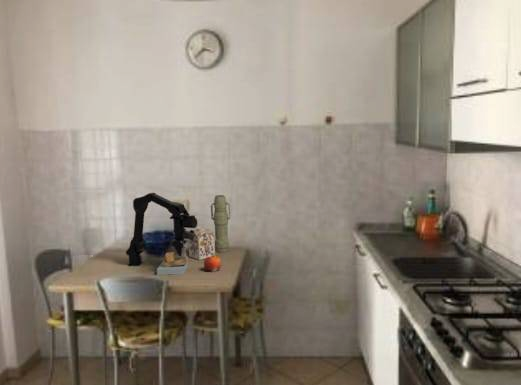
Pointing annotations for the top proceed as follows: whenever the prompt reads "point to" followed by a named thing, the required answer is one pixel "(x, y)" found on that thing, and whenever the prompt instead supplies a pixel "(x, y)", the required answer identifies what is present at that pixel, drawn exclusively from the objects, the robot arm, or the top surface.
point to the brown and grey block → (177, 260)
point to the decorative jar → (202, 244)
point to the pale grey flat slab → (171, 269)
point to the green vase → (220, 223)
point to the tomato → (212, 263)
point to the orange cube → (170, 256)
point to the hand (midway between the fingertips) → (180, 255)
